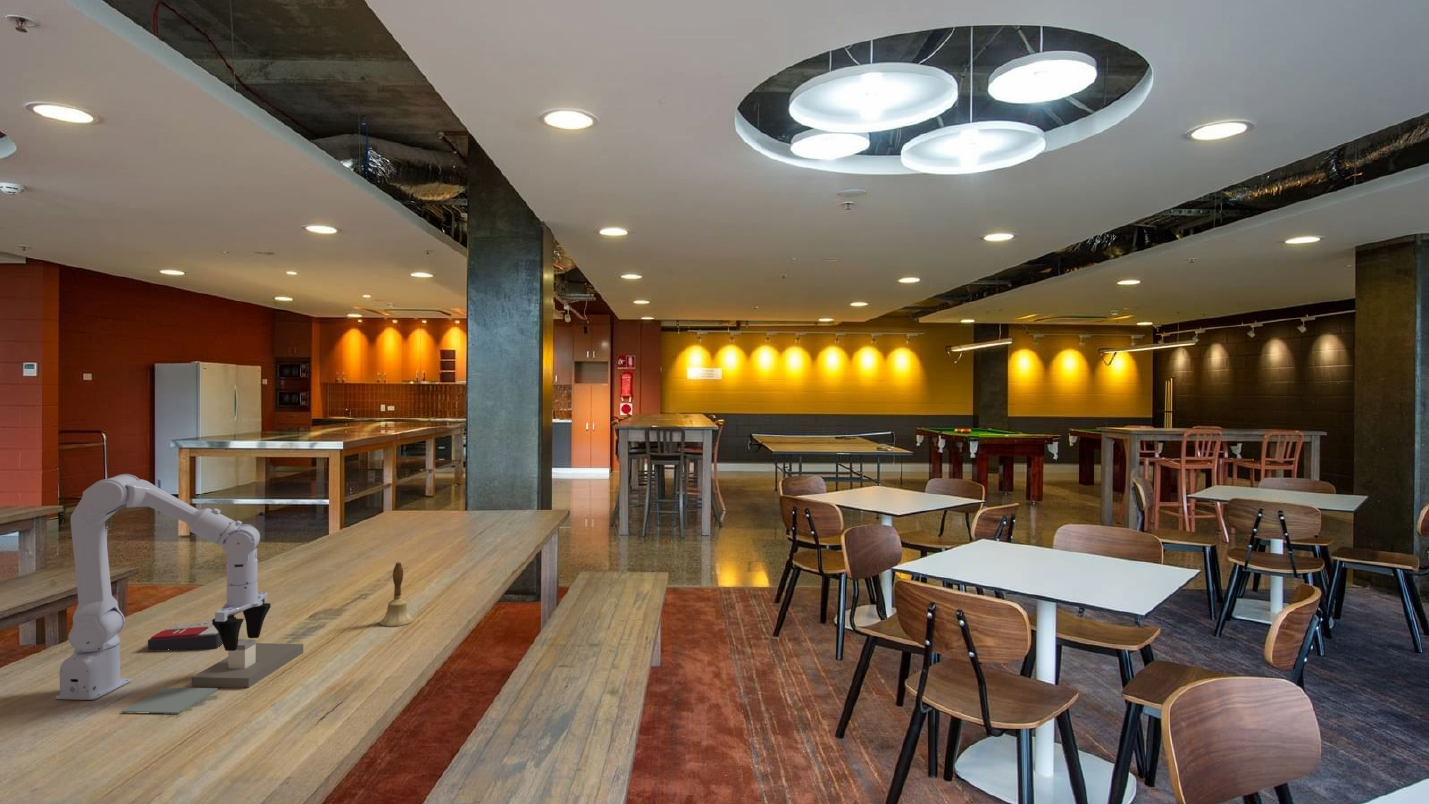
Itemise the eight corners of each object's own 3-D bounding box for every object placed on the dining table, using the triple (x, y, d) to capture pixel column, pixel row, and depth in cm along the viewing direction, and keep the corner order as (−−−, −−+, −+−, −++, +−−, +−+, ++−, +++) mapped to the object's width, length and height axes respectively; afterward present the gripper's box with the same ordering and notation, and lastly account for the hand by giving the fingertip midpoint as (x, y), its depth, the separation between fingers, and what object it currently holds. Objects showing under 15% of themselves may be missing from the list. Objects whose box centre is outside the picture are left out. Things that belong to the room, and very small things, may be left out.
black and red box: (173, 622, 182) (238, 617, 184) (174, 639, 182) (239, 633, 184) (146, 637, 171) (216, 631, 173) (147, 655, 171) (217, 649, 173)
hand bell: (404, 615, 201) (404, 557, 200) (419, 621, 195) (419, 562, 195) (374, 622, 194) (374, 563, 194) (389, 629, 189) (389, 568, 189)
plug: (244, 677, 157) (245, 645, 157) (228, 677, 157) (228, 645, 157) (255, 671, 161) (255, 639, 161) (239, 670, 161) (239, 639, 161)
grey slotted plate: (248, 687, 152) (248, 678, 152) (191, 686, 152) (191, 677, 152) (303, 652, 172) (303, 644, 172) (252, 651, 172) (252, 643, 172)
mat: (178, 714, 139) (178, 712, 139) (121, 713, 139) (121, 711, 139) (217, 690, 150) (217, 688, 150) (164, 689, 150) (164, 687, 150)
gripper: (238, 591, 151) (238, 656, 152) (280, 573, 166) (280, 632, 166) (204, 591, 151) (205, 656, 152) (249, 573, 166) (249, 632, 166)
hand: (242, 643), depth 159 cm, fingers open, 7 cm apart
